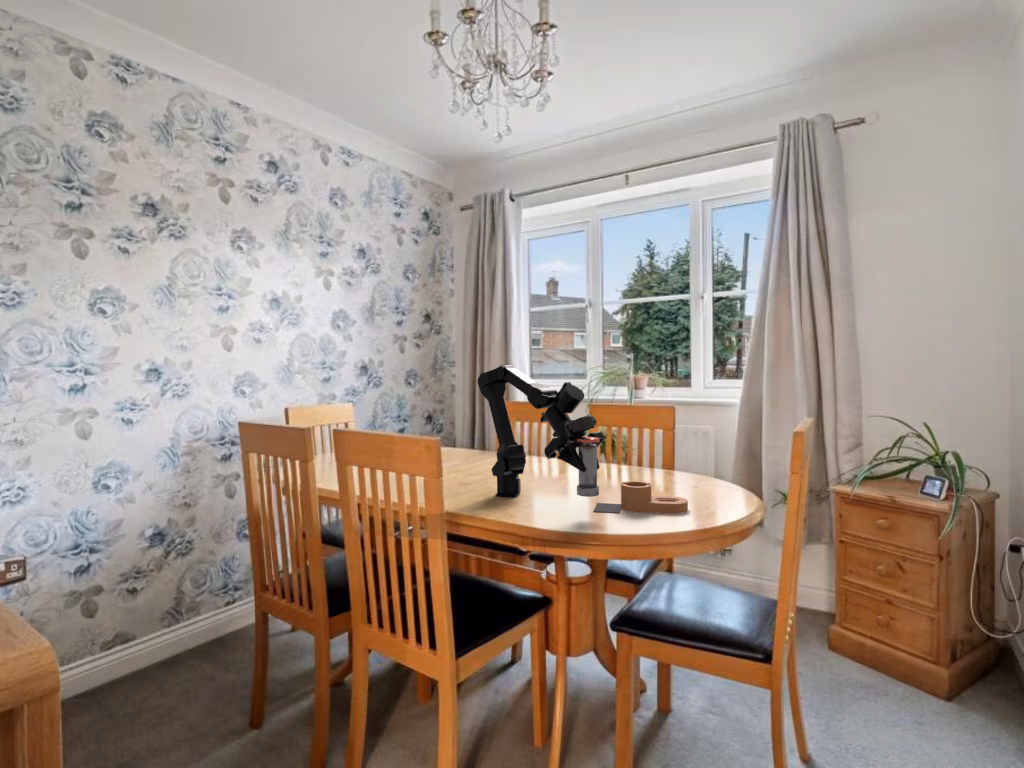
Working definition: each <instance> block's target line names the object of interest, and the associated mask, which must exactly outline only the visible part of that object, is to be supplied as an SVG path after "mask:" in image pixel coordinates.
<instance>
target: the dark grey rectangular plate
mask: <svg viewBox="0 0 1024 768" xmlns="http://www.w3.org/2000/svg"><path fill="white" fill-rule="evenodd" d="M621 510H622V508H621V503H607V502H606V503H605V502H602V503H601V502H596V505H595V507H594V509H593V513H610V514H620V513H621Z"/></svg>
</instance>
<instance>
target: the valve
mask: <svg viewBox="0 0 1024 768" xmlns="http://www.w3.org/2000/svg"><path fill="white" fill-rule="evenodd" d="M576 442H579V443H586V444H580V445H579V447H578V455H579V457H580V459H581V461H582V462H583V464H584V466H585V468H586V471H585V472H582V471H580V470H578V485H576V495H577V496H581V497H586V498H591V497H592V498H593V497H598V496H599V495H600V486H599V485H598V470H597V458H598V448H597V445H595V444H590V443H598V442H599V438H597V437H587V436H583V437H578V438H576Z"/></svg>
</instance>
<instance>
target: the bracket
mask: <svg viewBox="0 0 1024 768" xmlns="http://www.w3.org/2000/svg"><path fill="white" fill-rule="evenodd" d="M688 501H689V500H688V499H687V498H685V497H681V496H673V495H669V496H667V495H652V484H651V483H650V482H648V481H642V480H627V481H622V482H621V483H620V504H621V510H623V509H624V511H626V510H627V512H631V511H633V513H652V512H659V514H683V513H682V512H684V513H687V512H688V511H687V510H689V508H688V507H689V503H688ZM686 511H687V512H686Z"/></svg>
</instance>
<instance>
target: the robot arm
mask: <svg viewBox="0 0 1024 768" xmlns="http://www.w3.org/2000/svg"><path fill="white" fill-rule="evenodd" d="M477 384H478V388H479V390H480V393H481V395H482V396H483V397H484V398H485V400H487V402H488V406H489V409H490V414H491V417H492V422H493V425H494V429H495V433H496V436H497V441H498V448H497V452H496V460H497V461H496V462H495V463H494V465H493V466H492V468H491V474H492V476H493V477H496V486H497V487H496V491H497V492H496V493H495V496H496V497H507V498H508V497H512V498H513V497H514V498H515V497H517V496H518V495H519V494H520V493H521V491H522V490H521V489H522V487H521V484H522V483H521V478H519V477H520V476H519V475H523V474H524V471H525V470H524V469H525V466H526V463H527V460H526V459H527V458H526V457H527V455H526V451H525V449H524V446H523V444H522V443H521V444H519V443H517V442H516V441H515V436H514V432H513V429H512V426H511V422H510V421H511V420H510V417H509V414H508V410H507V407H506V402H505V397H504V396H505V393H506V389H507V385H506V384H510V385H511V386H513V387H514V388H516V389H517V390H519V391H520V392H522V393H523V394H524V395H525V396H526V398H527V401H528V403H529V404H530V405H531V406H532V407H533V408H535V409H536V410H541V409H542V410H543V409H546V410H545V412H541V417H540V423H546V422H548V424H549V426H550V427H551V429H552V431H553V433H552V436H553V438H551V440H550V441H549V442H548V444H547V445H546V446H545V448H544V456H546V457H545V458H547V459H548V460H550V459H555V458H556V457H557V460H561V461H563V462H564V463H567V464H569V465H570V466H572V467H574V468H575V469H577V470H578V471H579V470H580V471H582V472H585V471H586V468H585V466H584V464H583V462H582V461H581V459H580V457H579V453H578V452H577V448H578V449H579V445H580V444H586V443H579V442H576V438H578V437H597V438H599V442H598V443H590V444H595V445H597V449H598V448H599V447H600V445H602V443H603V442H604V441H605V439H606V437H605V435H604V433H602V432H601V431H595V432H590V433H589V434H588V435H587V431H589V430H591V429H595V426H596V425H597V418H595V416H594V415H593V414H587V415H585V416H582V417H578V418H576V419H572V418H571V417H570V416H569V415H568V414H572V413H574V412H575V411H576V409H577V408H578V407H579V405H580V404H581V403H582V401H583V400H585V399H584V398H585V393H584V391H583V390H582V389H580V388H579V387H578V386H576V385H574V384H572V383H571V382H569V381H567V382H564V383H563V384H562V386H561V388H560V390H557V389H555V388H554V387H551V386H549V385H546V384H542V383H538V382H536V381H535V380H533V379H532V378H530V377H529V376H527V375H526V374H525V373H523V372H522V371H520V370H518V369H517V368H516V366H514V365H512V364H501V365H499V366H498V367H496V368H493V369H491V370H488V371H485V372H481V373H480V374H479V376H478V378H477ZM586 435H587V436H586ZM557 452H558V454H559V455H558V456H557ZM599 469H600V463H599V458H598V457H597V471H598V470H599Z"/></svg>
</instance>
